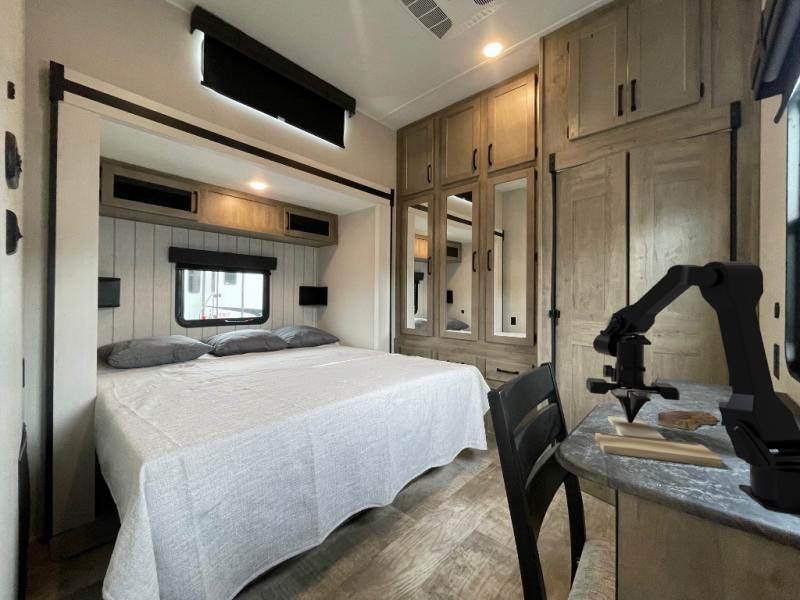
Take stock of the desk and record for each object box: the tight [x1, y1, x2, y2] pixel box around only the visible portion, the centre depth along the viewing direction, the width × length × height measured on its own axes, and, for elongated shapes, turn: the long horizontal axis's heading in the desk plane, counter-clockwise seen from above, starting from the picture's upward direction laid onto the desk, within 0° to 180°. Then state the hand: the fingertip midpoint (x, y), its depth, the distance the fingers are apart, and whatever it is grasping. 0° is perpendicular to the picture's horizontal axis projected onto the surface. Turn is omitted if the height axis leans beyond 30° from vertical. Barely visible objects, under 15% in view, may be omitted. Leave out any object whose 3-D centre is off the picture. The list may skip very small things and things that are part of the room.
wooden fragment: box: [657, 410, 721, 432], centre depth 90 cm, size 26×11×1 cm, turn 115°
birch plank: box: [607, 415, 667, 441], centre depth 80 cm, size 13×8×2 cm, turn 161°
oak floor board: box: [595, 432, 723, 468], centre depth 70 cm, size 7×20×2 cm, turn 71°
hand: (629, 422), depth 83 cm, fingers closed
